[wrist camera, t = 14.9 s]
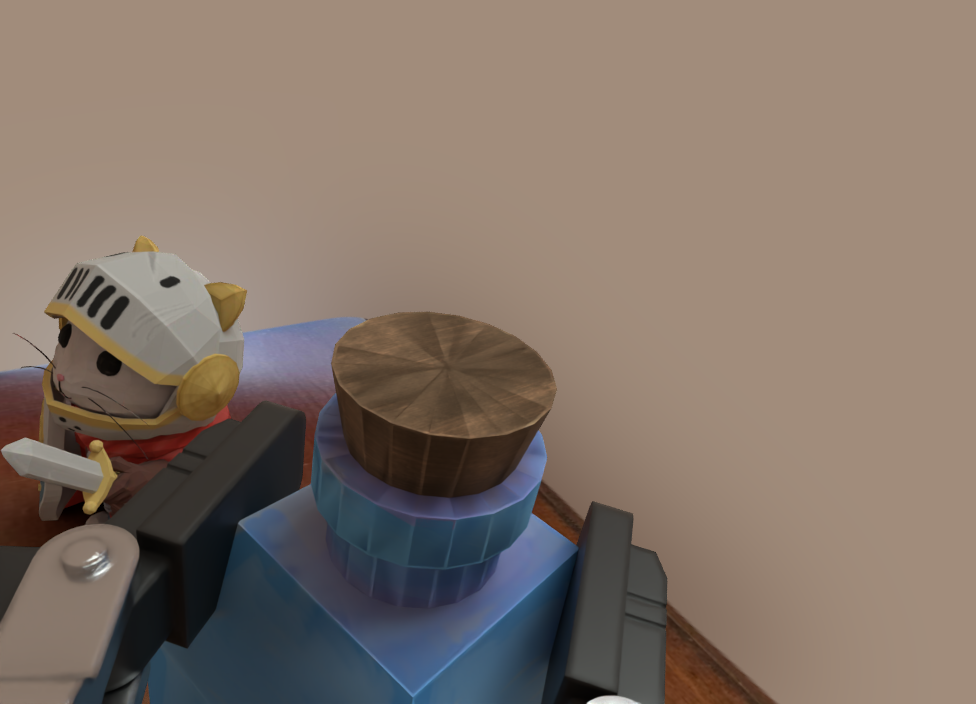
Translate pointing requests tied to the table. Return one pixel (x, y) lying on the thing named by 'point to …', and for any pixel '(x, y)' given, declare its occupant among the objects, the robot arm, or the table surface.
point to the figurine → (129, 377)
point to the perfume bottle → (397, 538)
